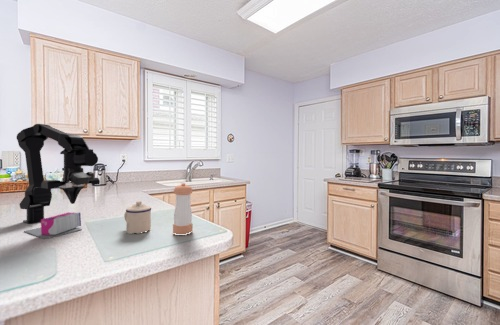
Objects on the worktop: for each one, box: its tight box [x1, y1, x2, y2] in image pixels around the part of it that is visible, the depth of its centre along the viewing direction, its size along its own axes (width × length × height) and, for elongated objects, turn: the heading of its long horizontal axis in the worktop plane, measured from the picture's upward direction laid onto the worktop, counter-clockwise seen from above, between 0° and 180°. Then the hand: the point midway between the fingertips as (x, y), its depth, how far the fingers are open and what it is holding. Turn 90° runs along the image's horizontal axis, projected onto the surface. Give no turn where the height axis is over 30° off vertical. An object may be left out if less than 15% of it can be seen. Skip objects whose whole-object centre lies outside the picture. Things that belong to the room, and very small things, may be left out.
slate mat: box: [23, 227, 83, 240], centre depth 91 cm, size 16×12×1 cm
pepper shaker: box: [172, 183, 193, 234], centre depth 91 cm, size 7×7×19 cm
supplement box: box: [40, 212, 82, 235], centre depth 91 cm, size 6×6×12 cm
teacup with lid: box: [123, 200, 152, 234], centre depth 94 cm, size 12×9×12 cm
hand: (72, 203), depth 97 cm, fingers closed
